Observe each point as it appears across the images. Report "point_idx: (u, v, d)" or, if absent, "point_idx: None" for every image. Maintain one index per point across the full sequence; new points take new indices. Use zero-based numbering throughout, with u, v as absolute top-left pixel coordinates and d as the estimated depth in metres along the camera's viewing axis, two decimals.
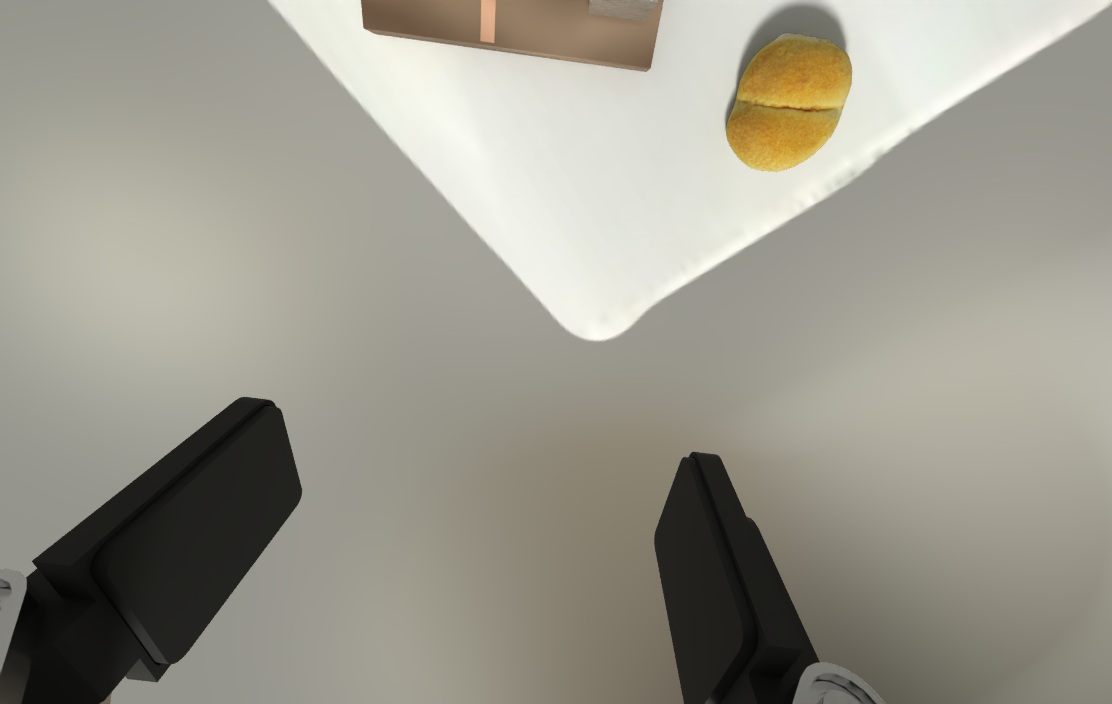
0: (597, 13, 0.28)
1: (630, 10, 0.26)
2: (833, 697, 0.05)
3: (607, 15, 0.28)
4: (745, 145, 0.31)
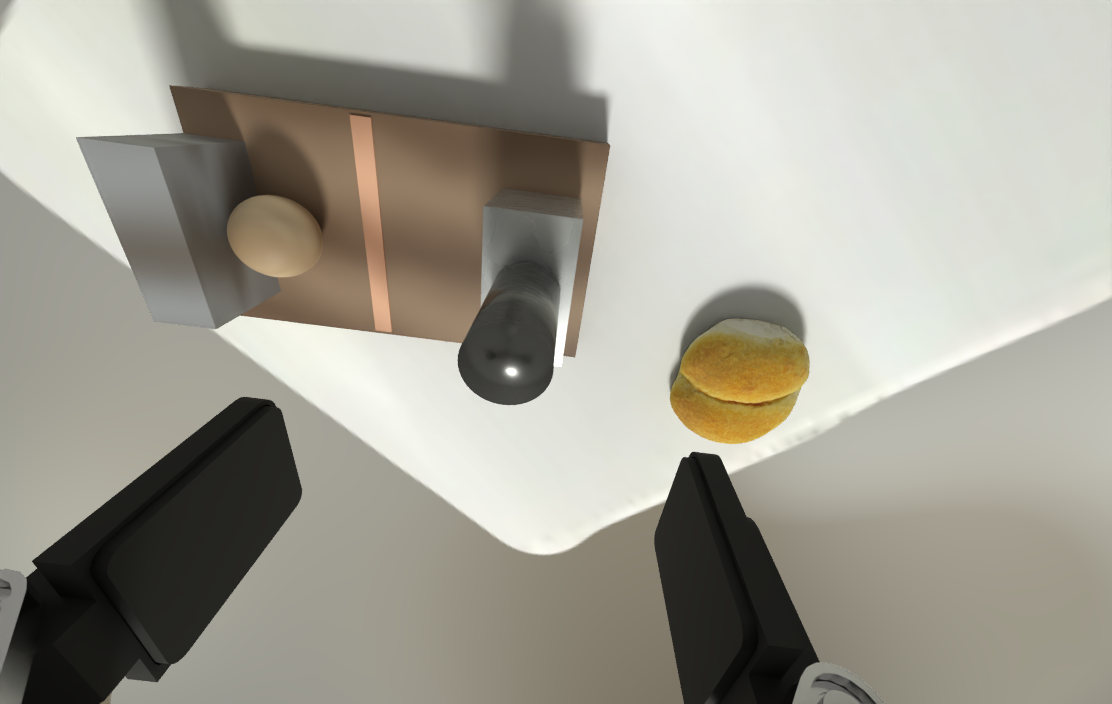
0: None
1: None
2: (833, 697, 0.05)
3: None
4: (689, 425, 0.27)
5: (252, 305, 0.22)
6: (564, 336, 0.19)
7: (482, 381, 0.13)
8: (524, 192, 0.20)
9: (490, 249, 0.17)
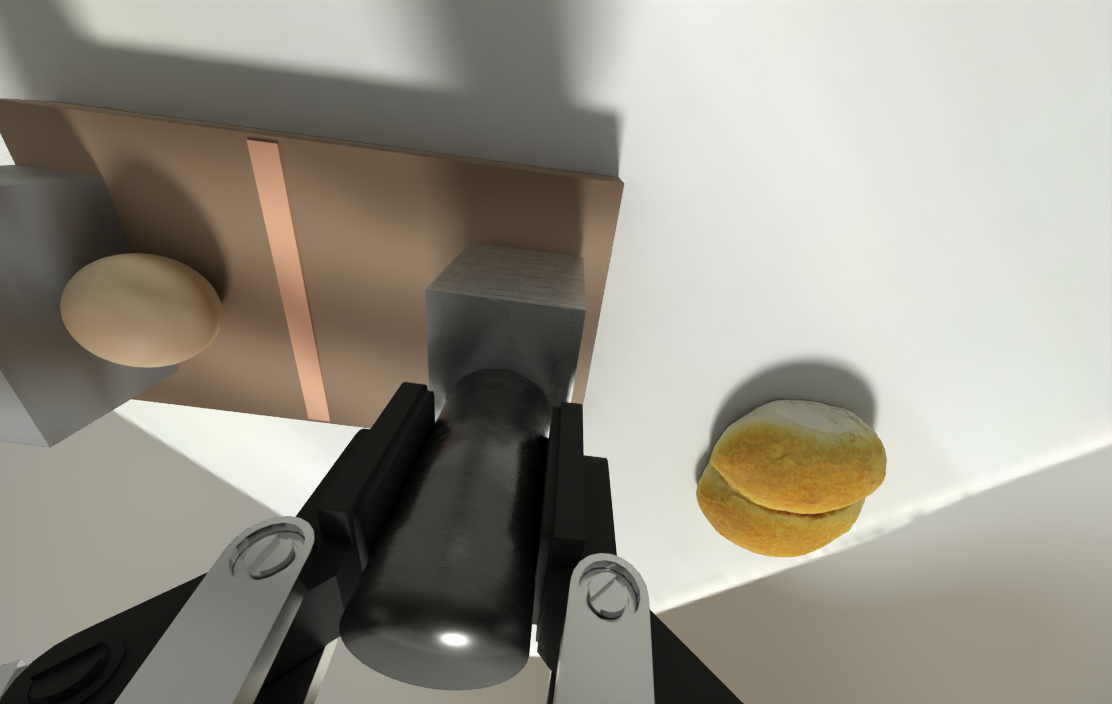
0: None
1: None
2: (596, 581, 0.06)
3: None
4: (723, 534, 0.21)
5: (124, 399, 0.16)
6: None
7: (394, 661, 0.07)
8: (500, 250, 0.14)
9: (439, 351, 0.11)
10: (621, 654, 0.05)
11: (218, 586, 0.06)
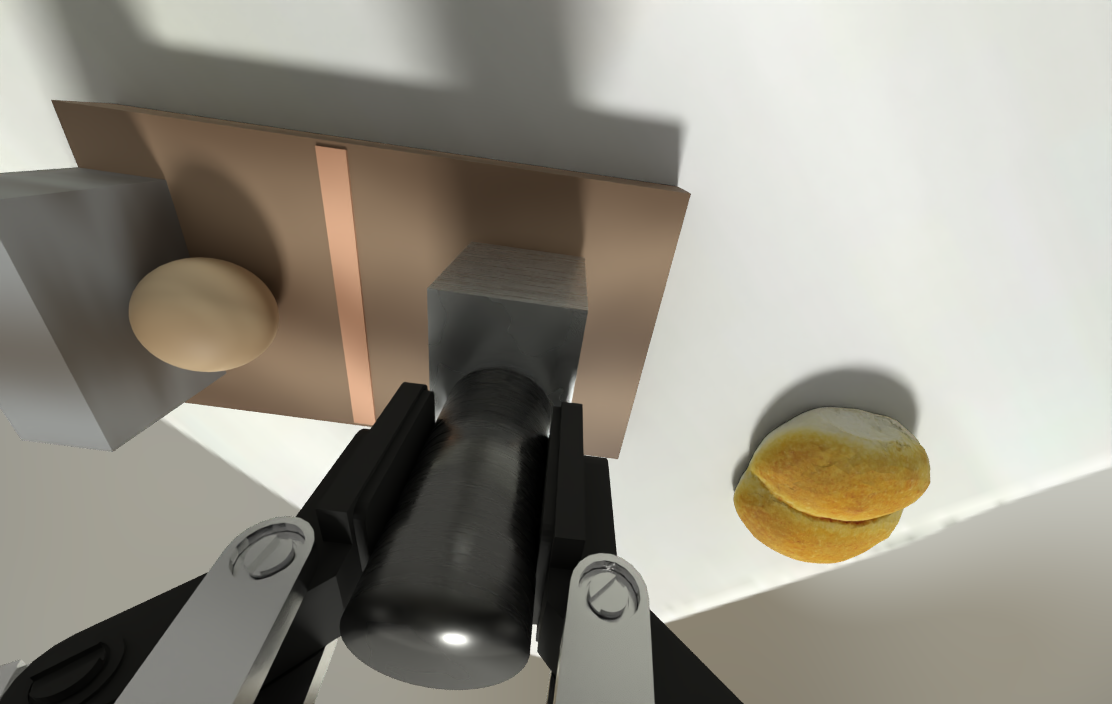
0: None
1: None
2: (596, 581, 0.06)
3: None
4: (762, 540, 0.21)
5: (179, 402, 0.16)
6: None
7: (394, 659, 0.07)
8: (502, 249, 0.14)
9: (440, 350, 0.11)
10: (621, 654, 0.05)
11: (218, 586, 0.06)
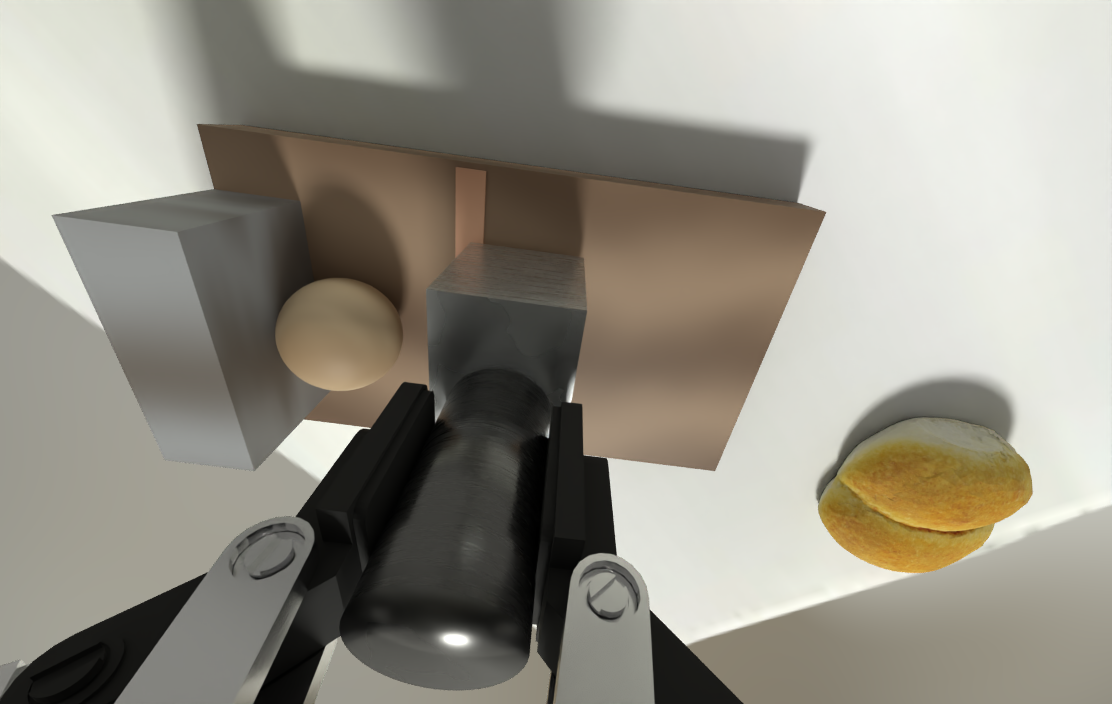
0: None
1: None
2: (596, 581, 0.06)
3: None
4: (852, 549, 0.21)
5: (300, 419, 0.16)
6: None
7: (394, 660, 0.07)
8: (501, 249, 0.14)
9: (440, 351, 0.11)
10: (621, 654, 0.05)
11: (218, 586, 0.06)
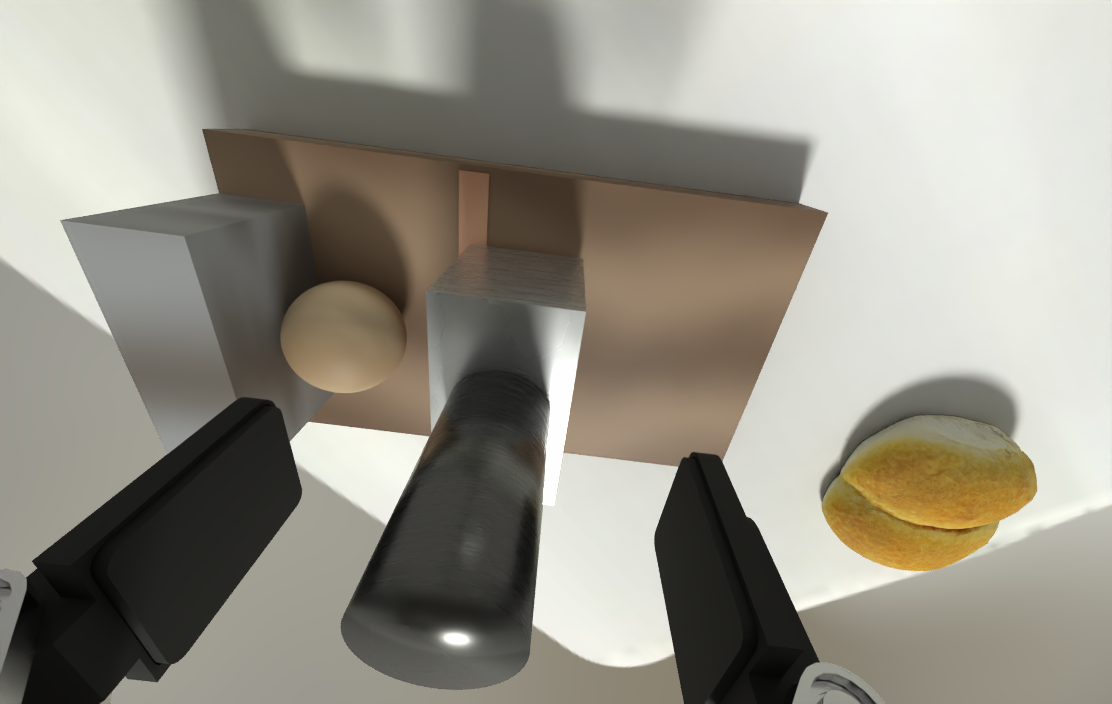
0: None
1: None
2: (833, 697, 0.05)
3: None
4: (857, 548, 0.21)
5: (304, 422, 0.16)
6: (557, 468, 0.13)
7: (394, 660, 0.07)
8: (500, 251, 0.14)
9: (440, 353, 0.11)
10: None
11: None
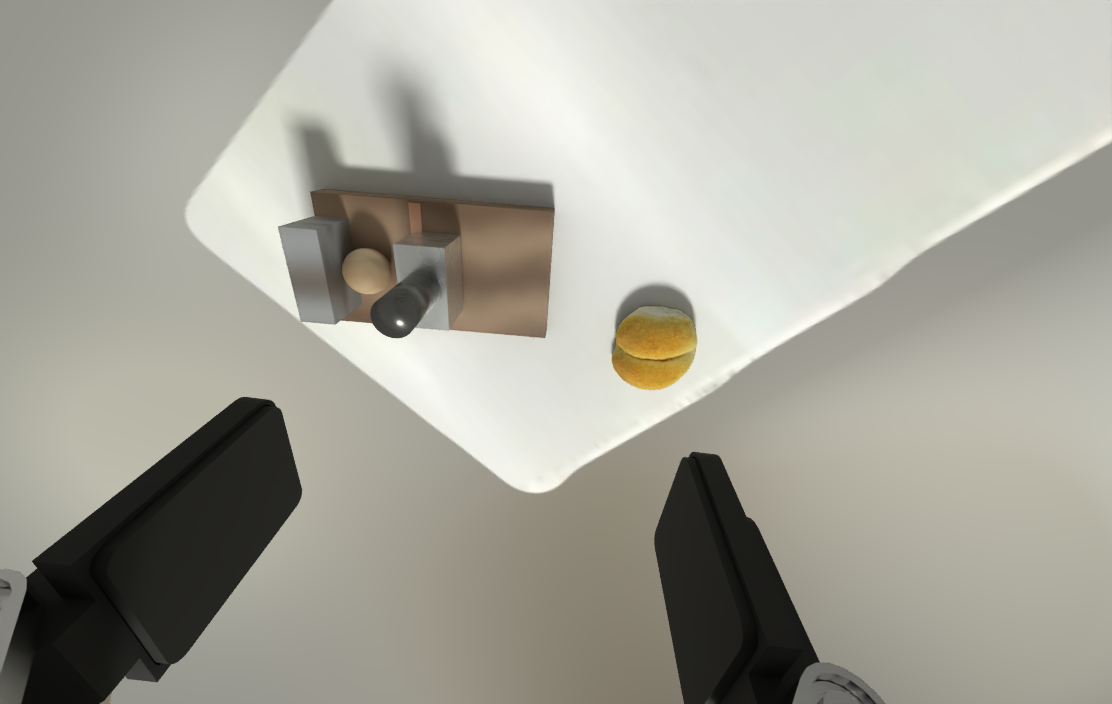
0: None
1: None
2: (833, 697, 0.05)
3: None
4: (624, 378, 0.41)
5: (350, 311, 0.37)
6: (447, 312, 0.34)
7: (383, 326, 0.28)
8: (426, 233, 0.35)
9: (399, 265, 0.32)
10: None
11: None
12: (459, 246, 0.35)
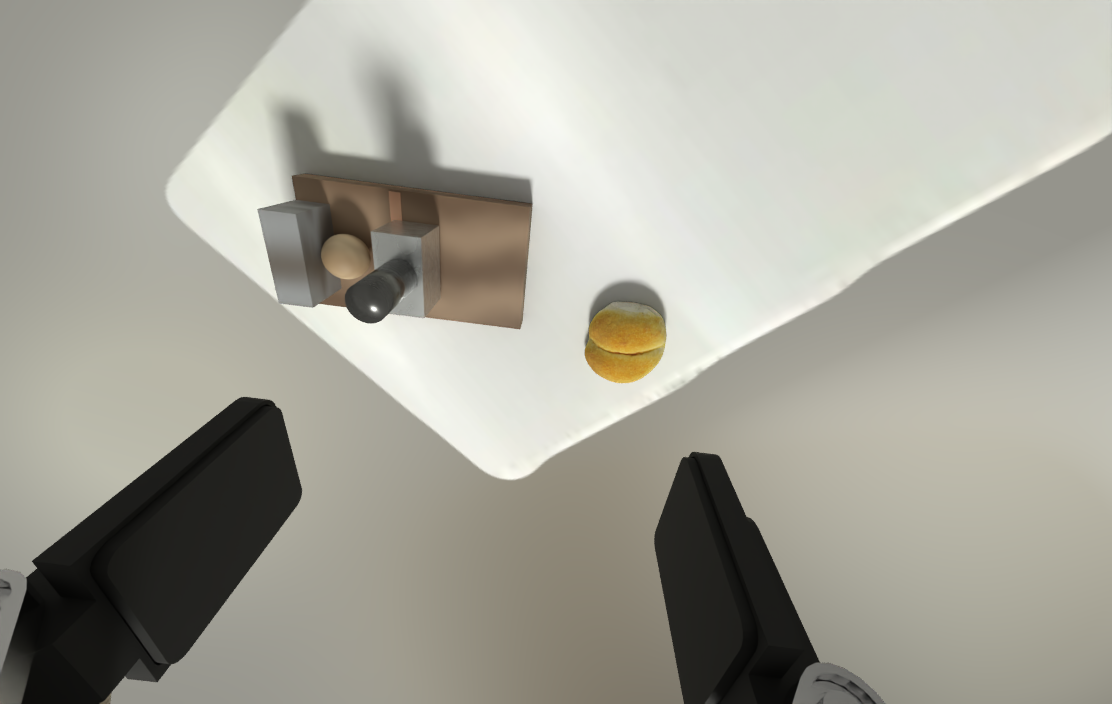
0: None
1: None
2: (833, 697, 0.05)
3: None
4: (595, 370, 0.43)
5: (328, 295, 0.38)
6: (422, 300, 0.35)
7: (357, 311, 0.29)
8: (405, 222, 0.36)
9: (376, 253, 0.33)
10: None
11: None
12: (437, 236, 0.36)
